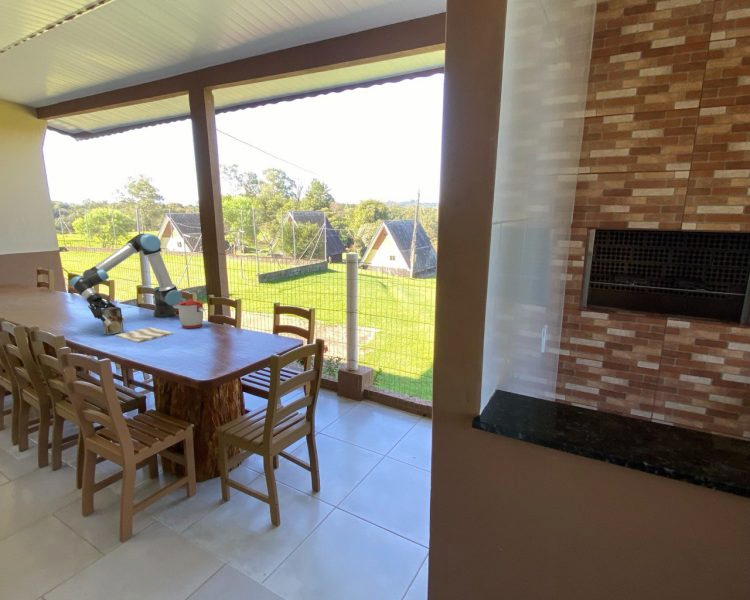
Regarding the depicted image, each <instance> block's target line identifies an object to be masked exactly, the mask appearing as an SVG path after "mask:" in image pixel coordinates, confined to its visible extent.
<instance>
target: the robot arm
mask: <svg viewBox="0 0 750 600" xmlns="http://www.w3.org/2000/svg"><path fill="white" fill-rule="evenodd" d="M161 245H162V243H161V239H160V238H159V237H158V236H157V235H155V234H153V233H139V234H136V235H135V236H134V237H132V238H131V239H129V240H127V242H125V245H123V246H122V247H121V248H119V249H118V250H116V251H115V252H113V253H112V254H110V255H108V256H107V257H105V258H104V259H103V260H102V261H100V262H98V263H97V264H96V265H94V266H93V267H91V268H89V269H86V270H84V271H83V273H82V275H78V276H74V277H72V279H70V281H69V283H70V285H71V286H72V288H73V289H74V290H75V291H76V292H77V294H78V293H79V295H80V296H81V297H83V299H84V300H85V301H86V302H87V303H88V306H87V307H88V309H90V311H91V313H92V315H93V317H94V319H97V320H101V322H102V323H103V322H104V323H105V324H106V325H107V326H109V325H110V324H111V322H110V321H109V320H108V319H107V318H106V317H105V316H104V315H103V316H102V312H101V309H104V308H111V307H117V305H115V304H114V303H112V302H111V301H110V300H109V299H106V300H104V299H103V297H102V296H101V294H99V293H98V291H96V290H95V288H93V287H96V286H97V285H99V284H101V283H103V282H105V281H107V280H108V279H109V278H110V277H109V274H108V273H109V272H110V271H111V270H112V269H114V268H116V267H117V266H118V265H120V264H121V263H123V262H124V261H126V260H127V259H128V258H130V257H131V256H133V255H134V254H138V253H139V252H142V254H143V256H146V258H147V259H148V260H147V261H148V263H149V264H150V267H151V270H152V272H153V274H154V277H155V278H156V281H157V284H158V286H155V287H154V289H153V295H154V304H155V305H154V311H153V314H152V315H153V317H154V316H155V317H154V318H168V317H167V316H170V317H174V316H176V313H177V312H176V310H175V307H174V306H176V305H177V306H178V303H180V302H181V301H182V300H183V295H182V292H181V291H179V290H178V287H177V285H176V284H175V283H173V282H172V279H171V277H170V275H169V272H168V270H167V266H166V264H165V262H164V259H163V257H162V255H161V252H162V249H161V247H162V246H161ZM125 319H126V318H125V317H124V316H123V315H122V321H123V322H124V321H125Z"/></svg>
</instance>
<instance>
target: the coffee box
mask: <svg viewBox="0 0 750 600" xmlns="http://www.w3.org/2000/svg"><path fill="white" fill-rule="evenodd" d="M101 312H102V316H103V315H104V316H105V317H106V318H107V319H108V320H109V321H110V322H111V324H110V325H109V326H107V325H106V324H105V323H104V322H103V321H102V329H103V333H104V334H105V335H108V336H110V335H114V334H115V335H116V334H121V333H125V330H124V323H123V322H124V321H122V316H123V314H122V308H121V307H118V306H116V307H111V308H101Z"/></svg>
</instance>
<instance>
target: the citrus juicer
mask: <svg viewBox="0 0 750 600" xmlns="http://www.w3.org/2000/svg"><path fill="white" fill-rule="evenodd" d="M203 303H204V302H203V301H200V300H194V299H192V298H188V300H187V301H182V302H181V301H180V303H178V304H177V307H178V319H179V321H180V325H181V326H182V328H183V329H192V328H194V329H195V328H197V329H198V328H199V327H202V325H203V321H204V312H205V308H204V307H203V306H204V304H203Z"/></svg>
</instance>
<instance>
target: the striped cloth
mask: <svg viewBox="0 0 750 600" xmlns="http://www.w3.org/2000/svg"><path fill="white" fill-rule="evenodd" d="M171 334H172V335H173V334H174V333H173V332H172V331H167V330H164V329H159V328H154V327H145V328H140V329H136V330H131V331H127V332H120V333H116V334H115V337H117V338H119V337H120V339H122V338H124V339H123V340H126V339H127V341H130V342H133V341H134V343H138V342H139V343H143V342H146V341H151V339H152V340H155V338H156V339H160V338H164V337H167V335H168V336H170V335H171ZM172 335H171V336H172ZM163 336H164V337H163ZM159 337H160V338H159ZM142 341H143V342H142Z"/></svg>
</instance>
